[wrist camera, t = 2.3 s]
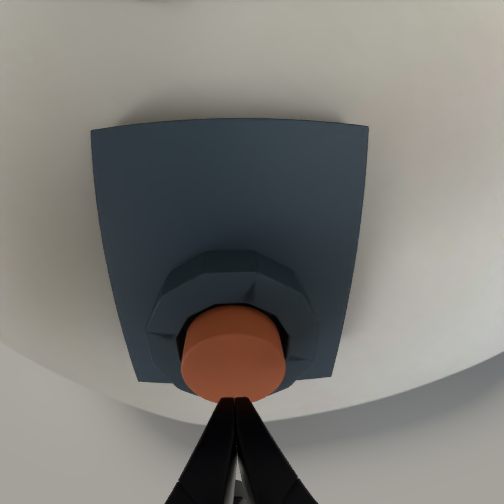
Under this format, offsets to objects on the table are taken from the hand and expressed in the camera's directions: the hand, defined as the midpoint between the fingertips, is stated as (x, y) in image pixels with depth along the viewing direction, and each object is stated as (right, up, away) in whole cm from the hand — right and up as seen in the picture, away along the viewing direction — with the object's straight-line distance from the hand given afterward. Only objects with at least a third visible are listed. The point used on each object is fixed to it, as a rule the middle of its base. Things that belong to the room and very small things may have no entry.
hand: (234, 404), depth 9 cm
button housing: (0, +4, +5) cm, 7 cm away
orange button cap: (0, +1, +3) cm, 3 cm away
